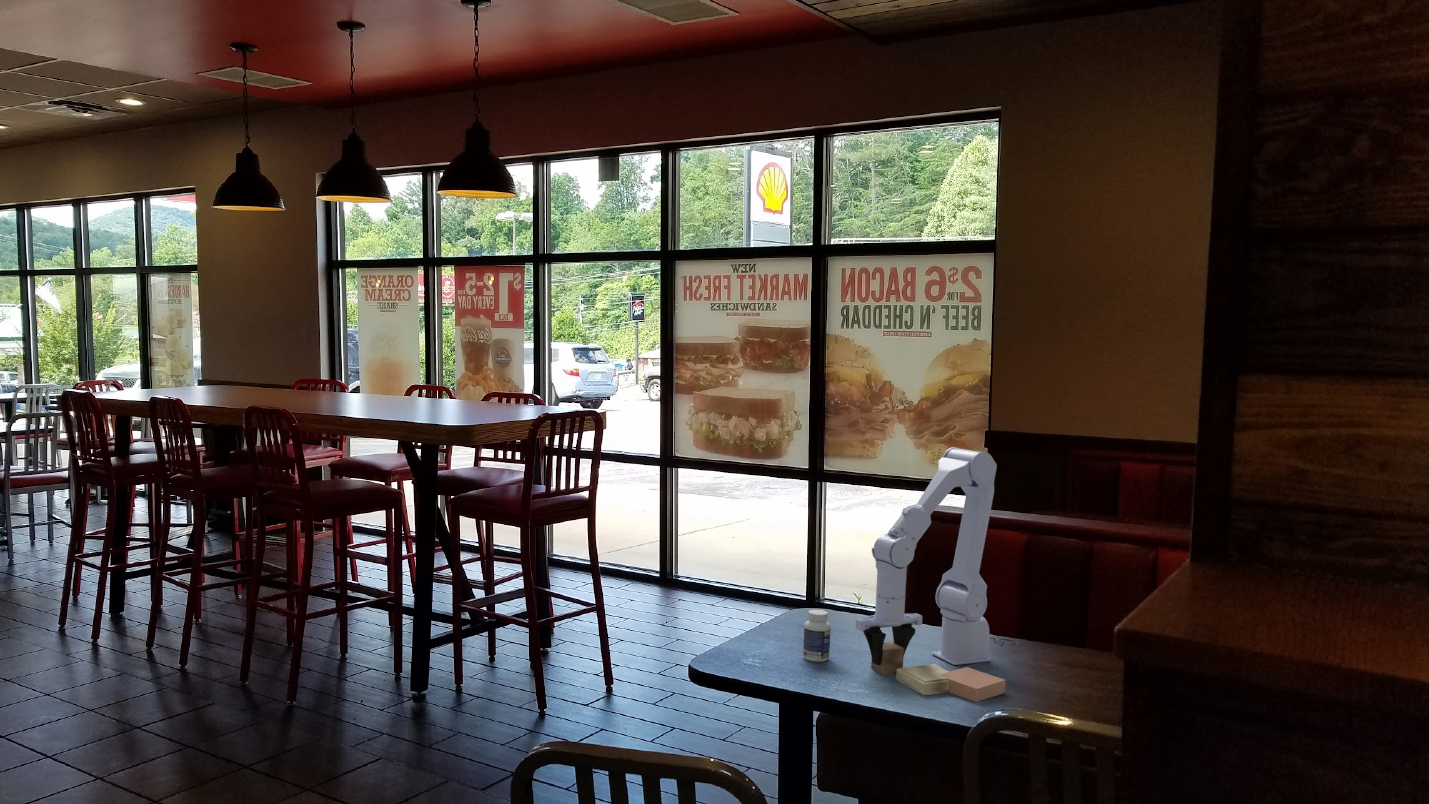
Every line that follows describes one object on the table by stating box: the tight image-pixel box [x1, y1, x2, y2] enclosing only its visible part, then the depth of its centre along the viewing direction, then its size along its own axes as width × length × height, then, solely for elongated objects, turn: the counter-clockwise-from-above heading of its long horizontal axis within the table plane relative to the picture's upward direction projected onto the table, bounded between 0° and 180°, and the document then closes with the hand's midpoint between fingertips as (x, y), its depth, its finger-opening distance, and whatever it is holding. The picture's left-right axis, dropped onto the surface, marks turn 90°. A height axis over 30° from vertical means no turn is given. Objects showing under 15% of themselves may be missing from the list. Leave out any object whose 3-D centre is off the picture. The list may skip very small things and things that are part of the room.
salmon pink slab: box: [939, 666, 1007, 703], centre depth 193 cm, size 9×9×2 cm
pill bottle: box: [802, 609, 832, 663], centre depth 208 cm, size 5×5×10 cm
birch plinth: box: [895, 663, 953, 696], centre depth 195 cm, size 9×9×2 cm
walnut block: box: [870, 641, 905, 676], centre depth 203 cm, size 4×4×5 cm
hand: (887, 662), depth 203 cm, fingers closed on walnut block, 4 cm apart
